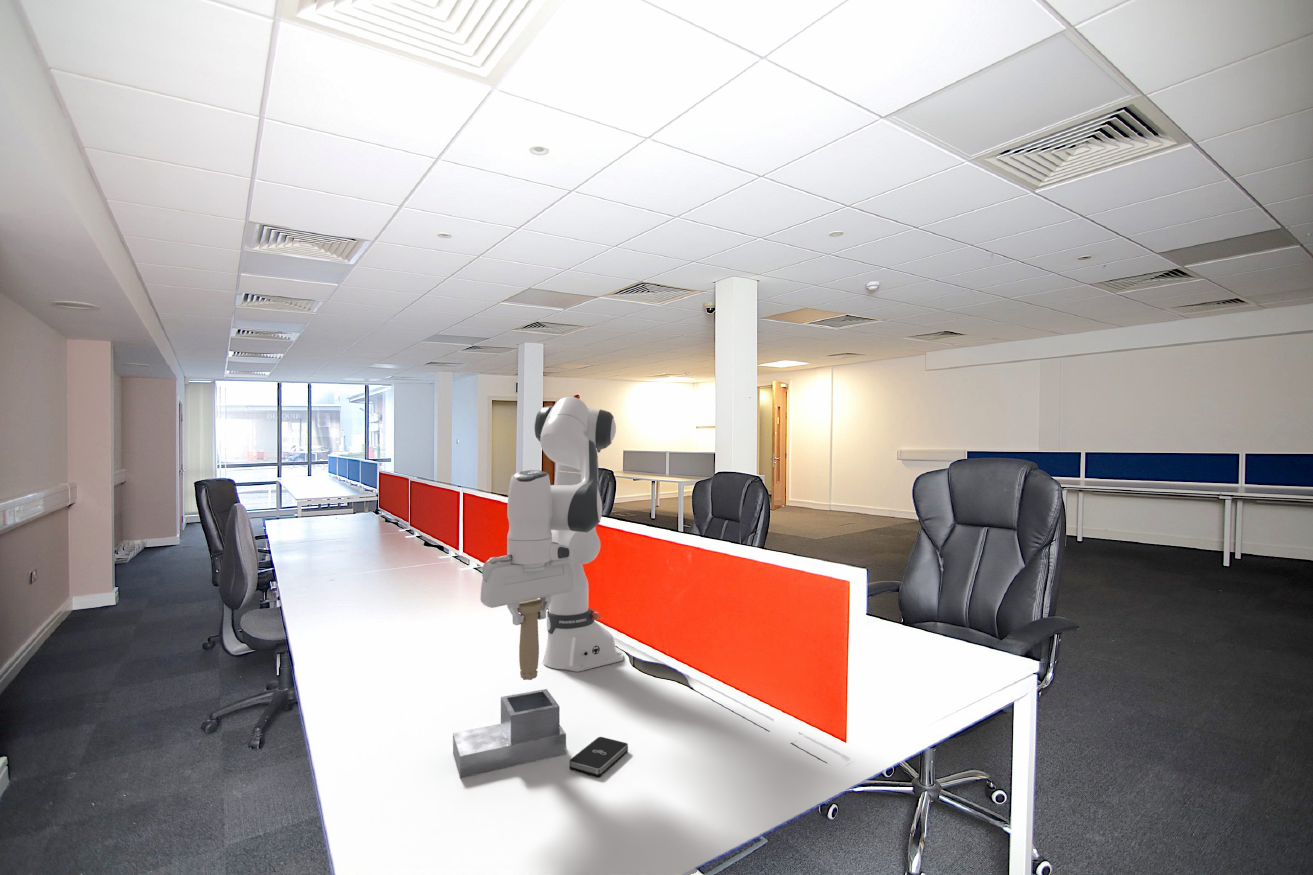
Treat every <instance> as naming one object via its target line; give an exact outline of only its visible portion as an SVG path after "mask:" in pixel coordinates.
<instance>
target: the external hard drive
mask: <svg viewBox="0 0 1313 875" xmlns="http://www.w3.org/2000/svg"><path fill="white" fill-rule="evenodd" d="M628 753H629V744H628V743H627V742H624V741H619V740H616V739H612V738H608V737H604V736H598V737H596V738H595V739H594V740H593V741H591V742H590V743H589V744H587V745H586V746H585V747H584V748H582V749H581V750H580V751H579V752H578V753H576V754H575V755H574V756H572V757H571V758H570V759H569V770H570V771H572V772H576V773H579V774H584V775H586V776H590V777H593V778H596V779H597V778H602V776H603V775H605V773H607V772H608V771H609V770H610V769H611V768H612V767H613V766H615V764H617V763H618V762H619V761H620V760H621V759H622V758H623V757H624V756H625V755H627V754H628Z"/></svg>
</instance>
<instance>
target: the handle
mask: <svg viewBox="0 0 1313 875" xmlns="http://www.w3.org/2000/svg"><path fill="white" fill-rule="evenodd" d="M517 610H518V612H519V614H521V615H524V619H523V621H524V623H523V624H520V631H519V633H520V634H519V646H518V647H519V648H518V653H519V654H518V655H519V657H518V658H519V659H518V660H519V661H518V662H519V669H520V671H519V673H520V678H521V679H522V680H523V681H527V680H528V681H532V680H533V679H537V677H538V667H539V660H540V659H539V658H540V644H539V643H540V641H539V620H538V612H540V611H541V610H542V600H541V599H540V598H537V599H533V600H528V601H523V602H519V608H517Z"/></svg>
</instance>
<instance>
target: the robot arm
mask: <svg viewBox="0 0 1313 875" xmlns="http://www.w3.org/2000/svg"><path fill="white" fill-rule="evenodd" d="M614 418H615V417H614V415H613V414H612V413H611V412H610V411H607V410H604V409H594V408H591V407H588V406H587V405H586V403H585V402H584V401H583V400H581V399H579V398H578V397H574V396H565V397H563V398H560V399H559V400H557V402H555V404H554V405H548V406H544V407H542V408H540V409H539V410H538V411H537V414H536V416H535V418H534V422H533V430H534V435H535V437H536V439H537V440H538V441H539V442H540V443H539V444H540V446H541V447H540V448H541V449H542V451H543V453H544V454H545V456H546V457H547V458H548V459H549V460H551V461H552V462H554V463H555V464H556V467H555V475H554V484H552V485H551V481H550V480H551V479H550V474H549V473H547V472H546V471H542V470H539V469H528V470H521V471H518V472H516V473H514V474H512V476H511V477H510V478H511V479H510V481H509V487H508V494H507V508H506V509H507V513H506V514H507V519H508V527H509V528H508V532H507V536H506V538H507V539H506V540H507V543H506V544H507V546H506V551H507V552H506V554H507V555H502V556H499V557H498V556H493V557H490V558H489V559H488V560H487V561H485V562H484V564H483V565H482V570H481V571H482V572H481V575H482V581H481V587H480V597H479V598H480V602H481V604H483V606H485V607H488V608H492V609H493V608H498V607H503V606H506V608H507V609H508V611H509V613H510V614H511V616H512V624H513V625H514V626H519V625H520V626H521V624H523V623H524V621H523V619H524V615H521V614H520V613H519V612H518V610H517V608H519V602H523V601H528V600H533V599H541V600H542V610H541V611H540V612H538V621H539V620H544V619H546V630H547V639H546V647H545V652H544V656H543V659H542V663H543V664H544V666H546V667H548V668H551V669H556V670H567V671H572V672H575V673H576V672H578V673H579V672H583V671H586V670H591V669H594V668H599V667H603V666H606V665H610V664H614V663H618V662H622V661H623V660H624V652H623V651H622V650H621V649H620V648H618V647H617V646H616V643H615V639H614V638H615V637H614V636H613V634H612V633H611V632H610V631H609V630H607V629H606V628H605V627H603V625H601V624H600V623H598V622H597V621H598V620H600V618H601V614H600V612H598V611H596V610H594V609H591V608H590V607H589V581H588V578H587V576H586V573H585V570H584V565H586V564H589V563H591V562H593V561H594V560H595V559H596V558H597V557H598V555H599V553H600V550H601V540H600V537H599V535H598V533H597V530H596V527H597V526H598V525H599V524H600V523H601V519H602V516H603V502H602V498H601V494H600V473H599V472H600V471H599V459H598V457H599V456H598V453H601V451H602V450H604V449H607V448H608V447H609V446H611V445H612V443H613V441H614V438H615V436H616V431H617V425H616V421H615V419H614ZM595 620H596V621H595Z"/></svg>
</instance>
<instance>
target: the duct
mask: <svg viewBox="0 0 1313 875" xmlns="http://www.w3.org/2000/svg"><path fill="white" fill-rule="evenodd" d="M560 717H561V716H560V705H559V704H558V702H557V701H556V700H555V698H554V697H553V696H552V694H551V693H550V692H549V690H548V688H545V689H538V690H533V691H527V692H521V693H517V694H515V693H514V694H510V695H504V696H500V723H497V724H491V725H488V726H483V727H477V728H471V729H466V730H462V731H456V732H452V754H453V758H454V762H455V765H456V770H457V772H458V776H459V779H463V778H467V777H472V776H476V775H480V774H481V775H482V774H485V773H486V774H487V773H489V772H490V773H491V772H494V771H499V770H503V769H507V768H511V767H516V766H521V765H525V764H530V763H533V762H539V761H541V760H547V759H551V758H555V757H560V756H565V755H567V733H566V732H565V730H564V729H563V727H562V726H561V724H560Z"/></svg>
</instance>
